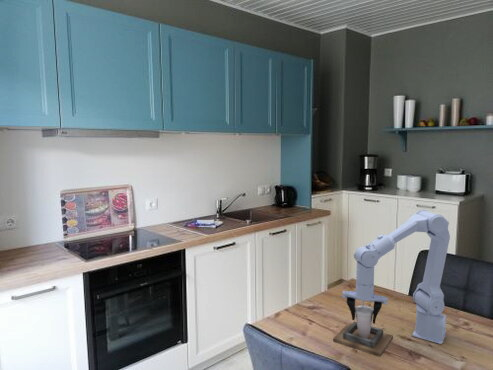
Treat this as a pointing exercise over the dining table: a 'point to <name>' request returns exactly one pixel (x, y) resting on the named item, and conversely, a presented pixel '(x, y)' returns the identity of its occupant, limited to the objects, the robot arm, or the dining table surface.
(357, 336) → the bottle stand
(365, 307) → the smoothie
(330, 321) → the dining table surface
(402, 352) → the dining table surface
